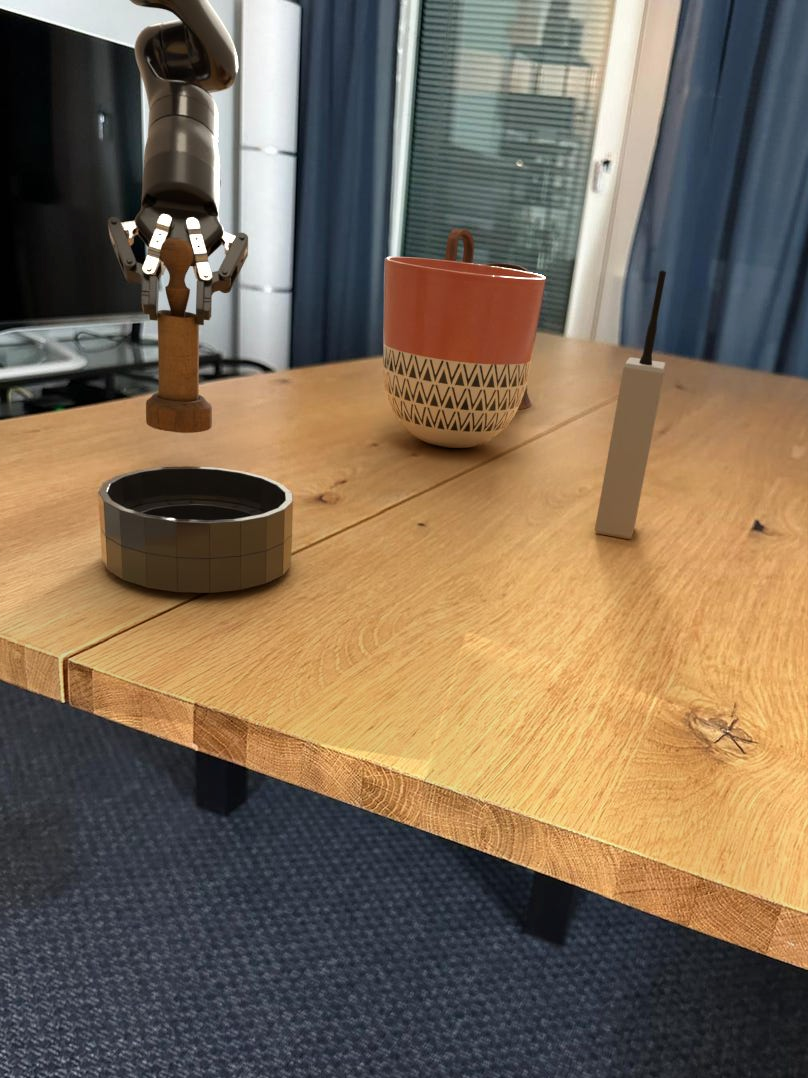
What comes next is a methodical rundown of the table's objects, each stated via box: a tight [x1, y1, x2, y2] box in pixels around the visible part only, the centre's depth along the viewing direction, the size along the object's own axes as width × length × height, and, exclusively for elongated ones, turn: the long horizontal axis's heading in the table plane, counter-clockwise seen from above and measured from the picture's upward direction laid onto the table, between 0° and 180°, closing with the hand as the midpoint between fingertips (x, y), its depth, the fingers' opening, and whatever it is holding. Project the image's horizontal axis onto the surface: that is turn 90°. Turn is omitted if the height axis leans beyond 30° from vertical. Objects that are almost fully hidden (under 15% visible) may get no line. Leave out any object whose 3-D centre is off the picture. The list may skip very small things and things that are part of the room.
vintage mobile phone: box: [594, 269, 667, 540], centre depth 89 cm, size 4×5×25 cm
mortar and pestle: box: [145, 238, 213, 434], centre depth 92 cm, size 7×6×18 cm
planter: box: [382, 256, 547, 449], centre depth 116 cm, size 20×20×21 cm
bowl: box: [97, 465, 294, 594], centre depth 72 cm, size 14×14×6 cm
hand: (176, 316), depth 90 cm, fingers closed on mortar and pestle, 3 cm apart
